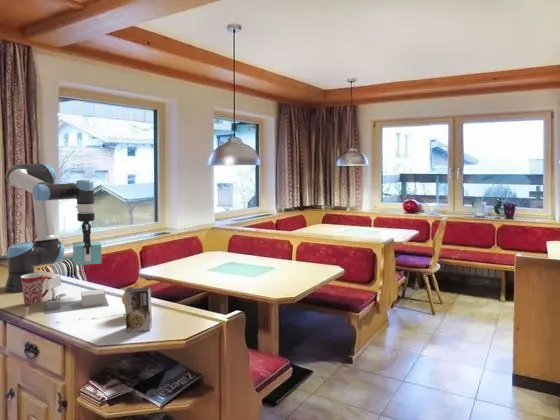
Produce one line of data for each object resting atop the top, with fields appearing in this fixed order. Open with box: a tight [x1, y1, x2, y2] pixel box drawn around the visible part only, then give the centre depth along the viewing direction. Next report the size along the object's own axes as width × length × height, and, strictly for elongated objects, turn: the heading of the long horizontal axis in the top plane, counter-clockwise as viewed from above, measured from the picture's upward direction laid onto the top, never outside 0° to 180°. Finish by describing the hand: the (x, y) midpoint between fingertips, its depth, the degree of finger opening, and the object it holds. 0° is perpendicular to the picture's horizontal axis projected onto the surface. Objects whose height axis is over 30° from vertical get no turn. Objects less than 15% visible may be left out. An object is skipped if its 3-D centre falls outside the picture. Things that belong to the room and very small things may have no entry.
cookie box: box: [124, 286, 153, 333], centre depth 177 cm, size 9×6×16 cm
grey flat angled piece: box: [44, 275, 67, 300], centre depth 200 cm, size 2×11×10 cm, turn 170°
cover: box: [61, 240, 103, 266], centre depth 216 cm, size 10×17×9 cm, turn 116°
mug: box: [21, 272, 51, 307], centre depth 209 cm, size 13×9×14 cm
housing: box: [43, 288, 110, 315], centre depth 203 cm, size 15×26×6 cm, turn 116°
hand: (87, 258), depth 217 cm, fingers closed on cover, 10 cm apart
